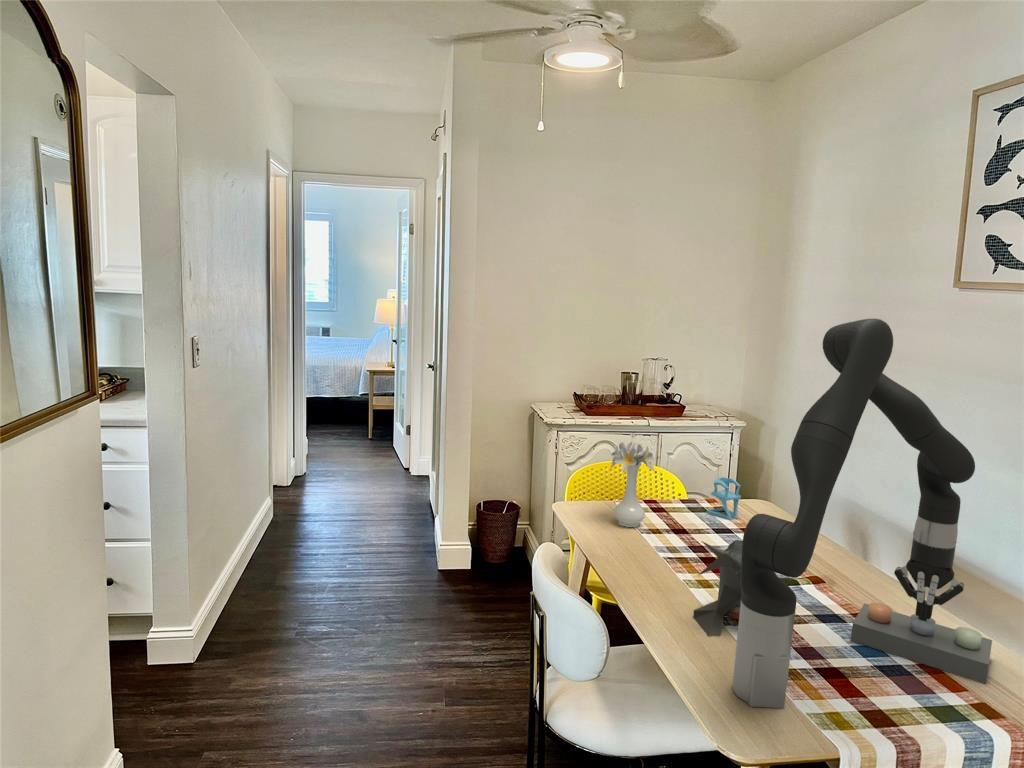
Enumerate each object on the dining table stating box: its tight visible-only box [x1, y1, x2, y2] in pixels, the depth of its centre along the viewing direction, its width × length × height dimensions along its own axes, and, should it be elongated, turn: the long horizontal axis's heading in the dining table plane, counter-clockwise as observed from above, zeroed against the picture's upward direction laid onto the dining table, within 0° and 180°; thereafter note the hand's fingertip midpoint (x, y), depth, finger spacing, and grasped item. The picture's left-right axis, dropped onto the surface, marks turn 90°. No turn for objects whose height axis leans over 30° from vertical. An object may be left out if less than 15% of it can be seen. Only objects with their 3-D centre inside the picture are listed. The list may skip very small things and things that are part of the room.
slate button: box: [910, 613, 937, 635], centre depth 146 cm, size 4×4×2 cm
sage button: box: [954, 626, 983, 650], centre depth 141 cm, size 4×4×2 cm
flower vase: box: [609, 441, 655, 528], centre depth 212 cm, size 13×18×25 cm
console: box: [850, 603, 993, 684], centre depth 147 cm, size 24×12×4 cm, turn 53°
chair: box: [706, 476, 742, 521], centre depth 224 cm, size 8×8×12 cm
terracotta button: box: [868, 602, 893, 623], centre depth 151 cm, size 4×4×2 cm
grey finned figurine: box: [692, 539, 743, 637], centre depth 155 cm, size 14×15×18 cm
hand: (922, 618), depth 146 cm, fingers closed
